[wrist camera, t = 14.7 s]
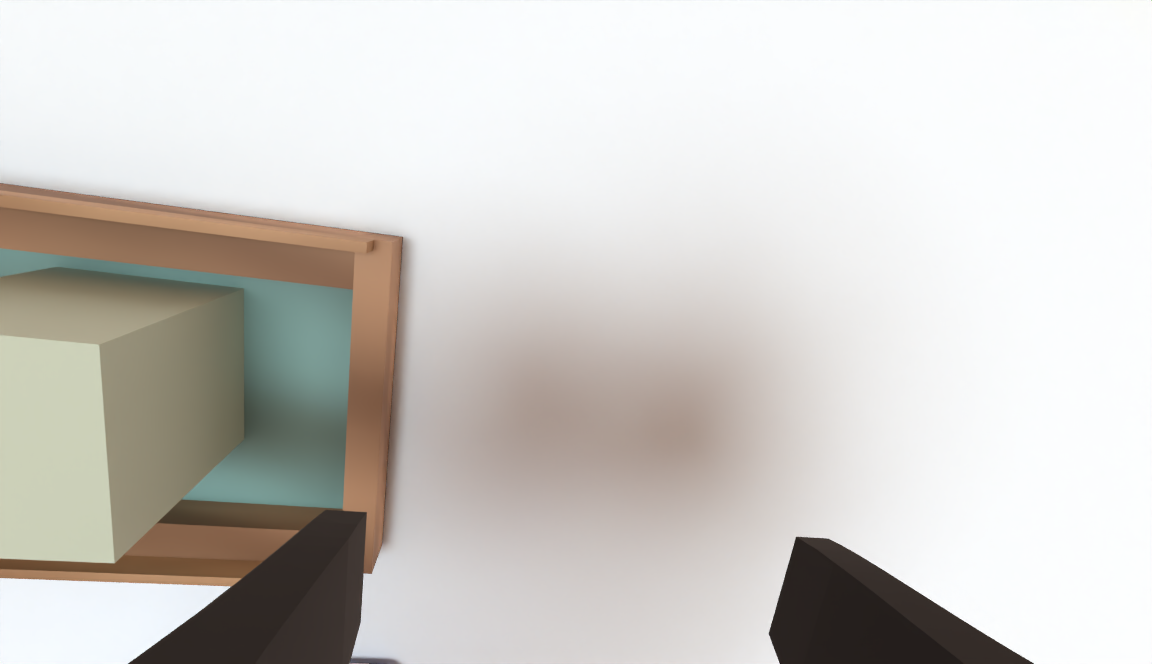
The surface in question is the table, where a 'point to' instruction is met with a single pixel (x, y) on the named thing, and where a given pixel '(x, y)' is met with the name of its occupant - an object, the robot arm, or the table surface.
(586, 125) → the table surface
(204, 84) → the table surface
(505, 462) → the table surface
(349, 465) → the board
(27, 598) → the table surface
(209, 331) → the sage block
